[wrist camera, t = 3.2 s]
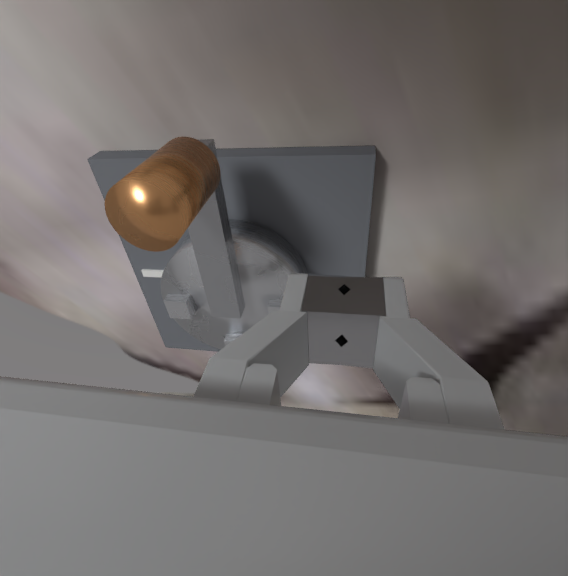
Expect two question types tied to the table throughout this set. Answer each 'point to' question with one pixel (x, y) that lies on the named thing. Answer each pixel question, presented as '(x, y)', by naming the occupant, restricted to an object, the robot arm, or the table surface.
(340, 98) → the table surface
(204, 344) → the housing plate
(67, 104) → the table surface
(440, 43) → the table surface
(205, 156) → the lever
